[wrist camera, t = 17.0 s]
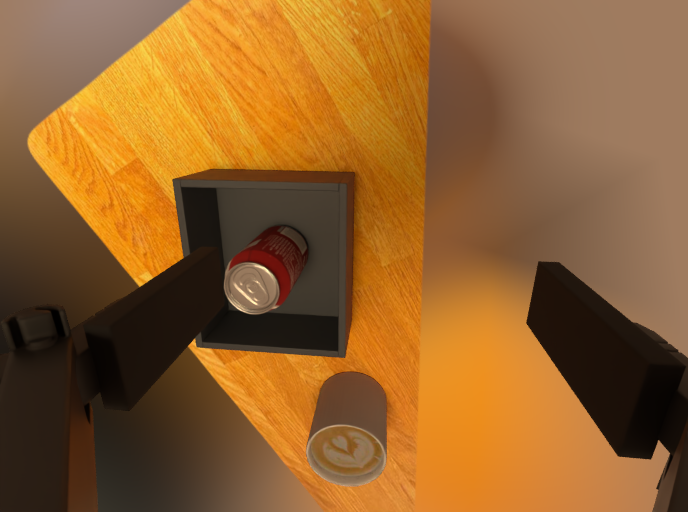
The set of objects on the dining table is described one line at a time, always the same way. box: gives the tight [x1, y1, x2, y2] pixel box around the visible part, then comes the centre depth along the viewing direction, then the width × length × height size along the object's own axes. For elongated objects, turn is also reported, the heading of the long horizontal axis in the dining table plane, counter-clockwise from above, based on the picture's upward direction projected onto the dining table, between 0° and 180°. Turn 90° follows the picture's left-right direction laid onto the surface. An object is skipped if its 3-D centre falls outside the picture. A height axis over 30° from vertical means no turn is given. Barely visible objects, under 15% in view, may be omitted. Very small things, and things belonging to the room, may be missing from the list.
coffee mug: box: [306, 372, 387, 486], centre depth 51 cm, size 13×10×10 cm
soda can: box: [224, 225, 308, 314], centre depth 41 cm, size 7×7×12 cm
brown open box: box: [173, 169, 355, 358], centre depth 44 cm, size 18×20×9 cm
